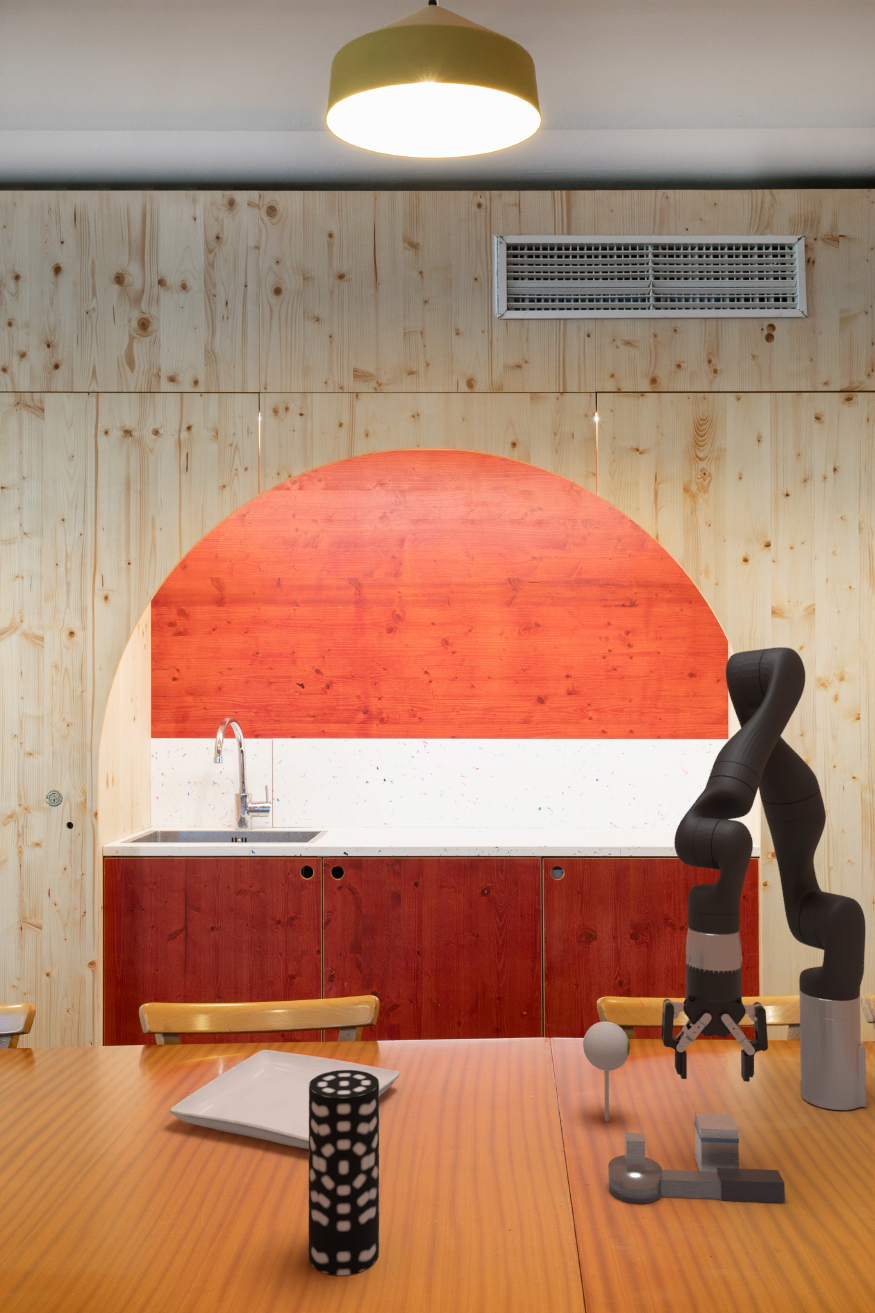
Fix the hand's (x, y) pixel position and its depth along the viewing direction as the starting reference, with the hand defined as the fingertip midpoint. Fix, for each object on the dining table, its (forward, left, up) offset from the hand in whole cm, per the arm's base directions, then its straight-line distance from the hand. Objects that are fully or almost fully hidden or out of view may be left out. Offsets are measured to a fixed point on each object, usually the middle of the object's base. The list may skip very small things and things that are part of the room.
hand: (713, 1078), depth 137 cm
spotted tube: (+48, +25, -13) cm, 55 cm away
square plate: (+64, -14, -13) cm, 67 cm away
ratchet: (+4, +7, -12) cm, 15 cm away
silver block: (0, 0, -12) cm, 12 cm away
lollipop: (+14, -14, -13) cm, 23 cm away
